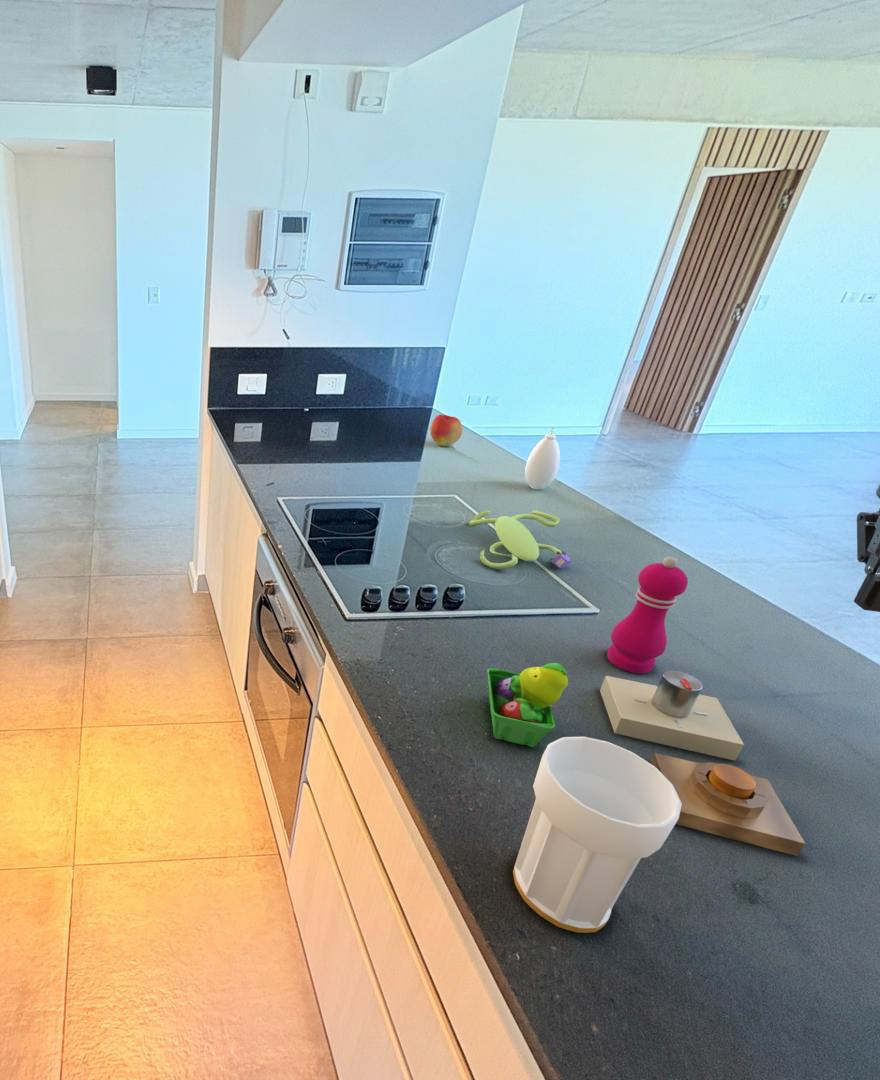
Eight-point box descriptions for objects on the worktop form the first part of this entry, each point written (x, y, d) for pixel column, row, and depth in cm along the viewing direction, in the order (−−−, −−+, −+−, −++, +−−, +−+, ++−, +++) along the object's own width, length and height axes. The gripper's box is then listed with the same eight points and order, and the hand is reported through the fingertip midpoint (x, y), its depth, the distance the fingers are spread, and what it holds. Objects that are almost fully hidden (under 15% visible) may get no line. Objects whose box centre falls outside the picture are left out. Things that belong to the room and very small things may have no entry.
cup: (523, 935, 63) (571, 819, 56) (488, 839, 73) (525, 730, 66) (643, 952, 62) (711, 835, 54) (591, 852, 72) (642, 741, 64)
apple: (428, 448, 204) (434, 418, 200) (427, 439, 212) (432, 411, 208) (460, 450, 201) (466, 420, 197) (457, 442, 210) (463, 413, 205)
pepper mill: (594, 656, 104) (633, 552, 95) (618, 644, 107) (659, 542, 98) (640, 681, 99) (686, 573, 90) (664, 667, 101) (712, 561, 92)
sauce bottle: (551, 495, 167) (570, 431, 159) (519, 490, 171) (536, 427, 163) (552, 486, 173) (571, 424, 165) (521, 481, 177) (537, 420, 168)
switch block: (760, 791, 79) (773, 768, 77) (797, 856, 71) (813, 833, 69) (648, 764, 83) (659, 742, 82) (671, 823, 75) (683, 800, 73)
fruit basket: (479, 692, 97) (496, 633, 92) (543, 705, 94) (564, 645, 89) (484, 742, 87) (503, 679, 82) (556, 759, 84) (580, 695, 79)
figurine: (549, 528, 149) (555, 507, 146) (579, 582, 126) (587, 558, 124) (466, 519, 154) (470, 498, 151) (480, 569, 131) (486, 546, 129)
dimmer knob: (646, 694, 91) (659, 665, 89) (682, 700, 90) (695, 671, 88) (657, 714, 88) (671, 684, 85) (694, 720, 86) (709, 691, 84)
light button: (742, 779, 76) (748, 768, 76) (755, 803, 73) (762, 793, 72) (703, 769, 78) (708, 759, 77) (714, 793, 75) (720, 783, 74)
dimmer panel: (709, 713, 92) (717, 696, 90) (735, 761, 84) (745, 743, 82) (599, 690, 97) (606, 674, 95) (614, 733, 88) (621, 716, 87)
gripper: (860, 441, 69) (795, 576, 76) (948, 479, 58) (862, 633, 65) (950, 446, 67) (874, 585, 74) (1060, 487, 55) (957, 646, 63)
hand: (868, 607), depth 70 cm, fingers closed
